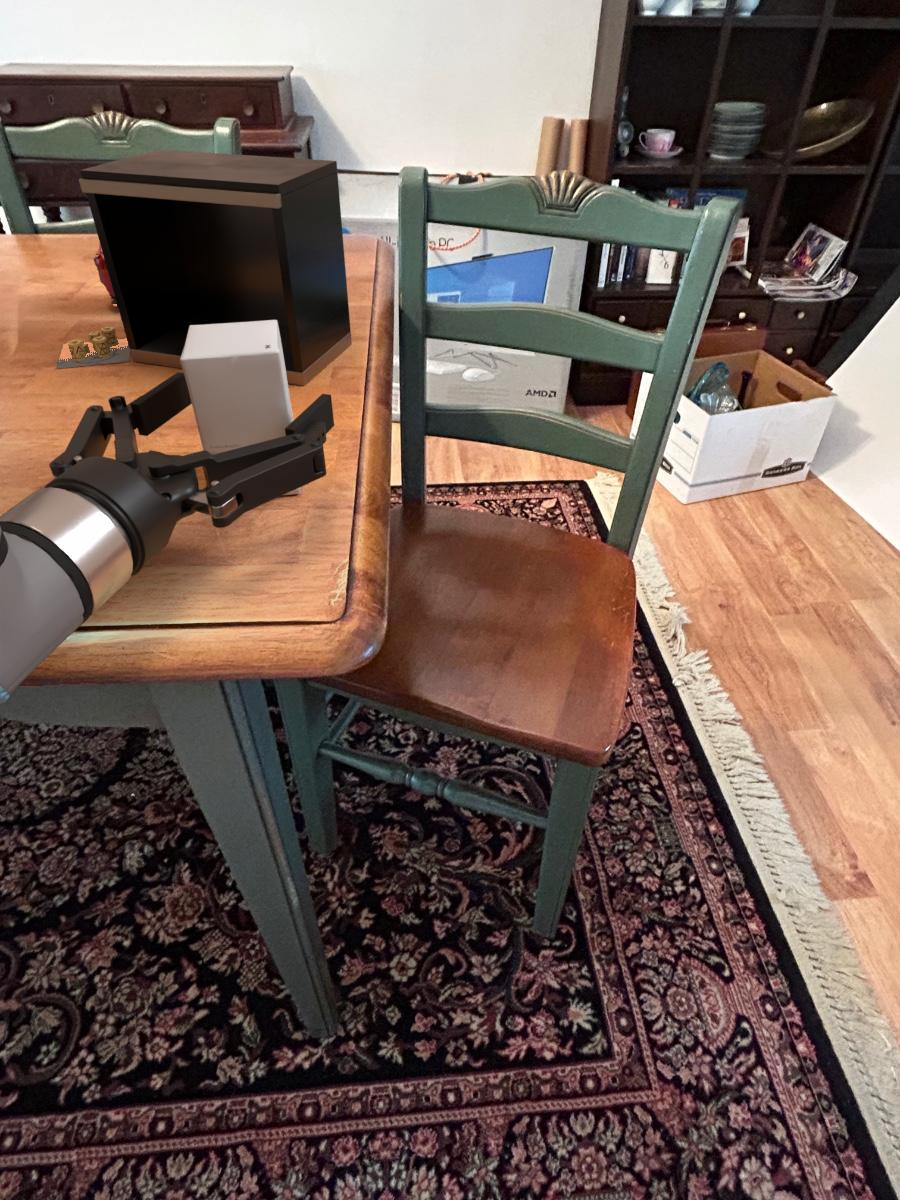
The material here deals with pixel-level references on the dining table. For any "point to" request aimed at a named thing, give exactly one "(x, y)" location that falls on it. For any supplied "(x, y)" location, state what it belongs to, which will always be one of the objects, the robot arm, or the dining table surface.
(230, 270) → the open cubby shelf
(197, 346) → the white packaging box
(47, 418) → the dining table surface
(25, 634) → the robot arm
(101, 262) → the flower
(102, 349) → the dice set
